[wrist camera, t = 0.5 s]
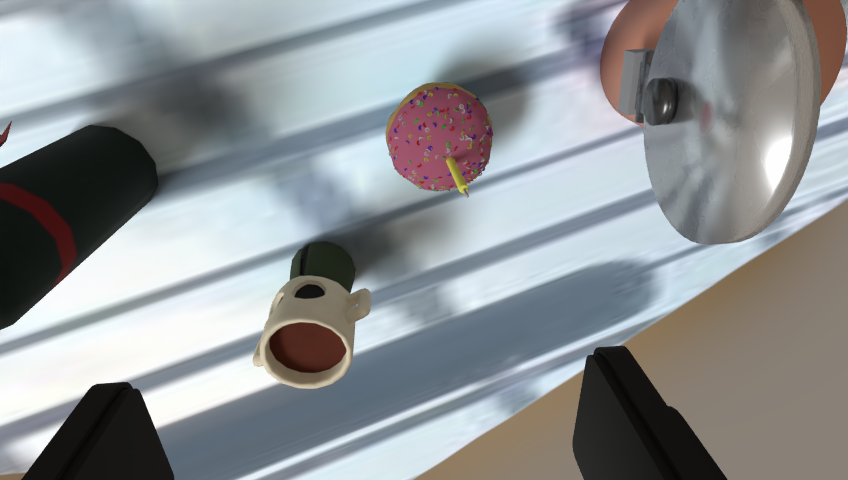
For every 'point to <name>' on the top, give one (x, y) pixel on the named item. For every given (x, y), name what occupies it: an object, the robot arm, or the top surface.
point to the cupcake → (440, 137)
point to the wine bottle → (65, 209)
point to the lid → (729, 114)
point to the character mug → (313, 320)
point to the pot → (645, 25)
